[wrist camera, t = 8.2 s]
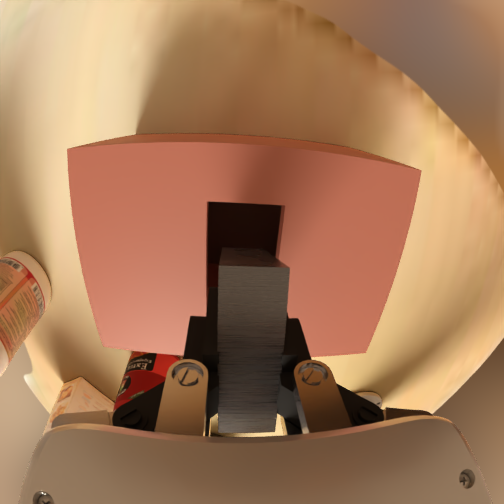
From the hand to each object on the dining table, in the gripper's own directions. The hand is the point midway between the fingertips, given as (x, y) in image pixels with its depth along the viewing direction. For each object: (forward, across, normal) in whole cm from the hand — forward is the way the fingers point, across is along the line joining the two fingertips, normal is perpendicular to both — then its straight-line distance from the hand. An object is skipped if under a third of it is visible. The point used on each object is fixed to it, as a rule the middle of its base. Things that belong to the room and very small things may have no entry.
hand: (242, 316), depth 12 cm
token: (0, 0, -3) cm, 3 cm away
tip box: (+16, 0, 0) cm, 16 cm away
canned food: (+16, +10, +22) cm, 29 cm away
